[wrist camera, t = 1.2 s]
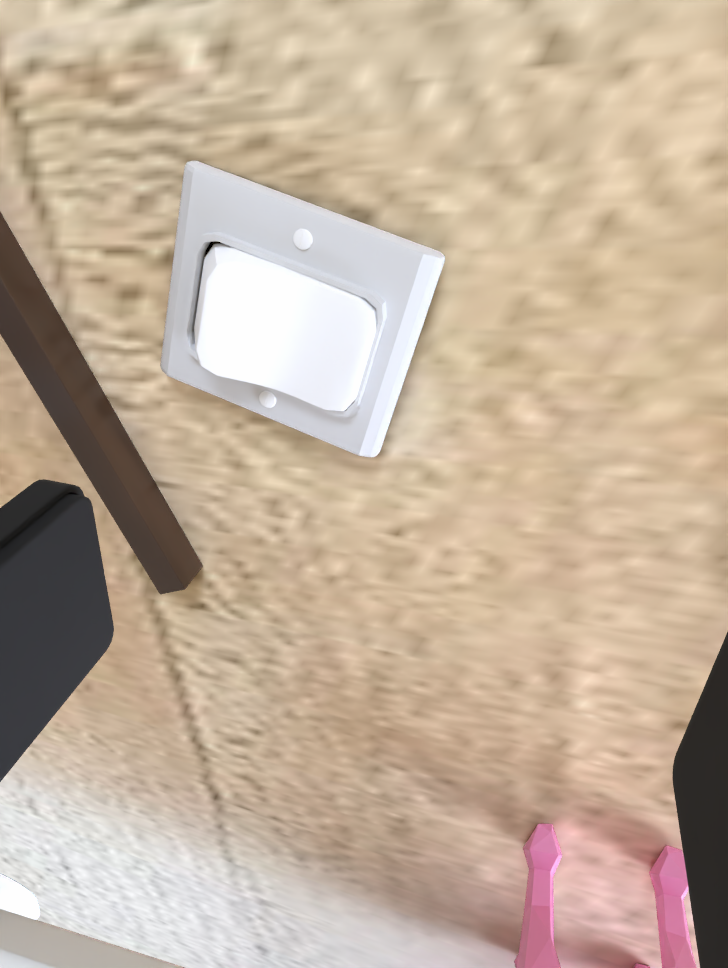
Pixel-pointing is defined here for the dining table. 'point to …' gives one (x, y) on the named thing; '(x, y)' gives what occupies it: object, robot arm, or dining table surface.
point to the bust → (17, 899)
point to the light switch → (293, 308)
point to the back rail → (89, 421)
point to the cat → (537, 935)
